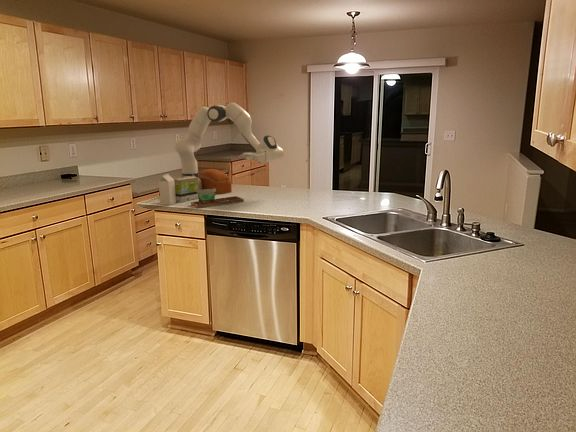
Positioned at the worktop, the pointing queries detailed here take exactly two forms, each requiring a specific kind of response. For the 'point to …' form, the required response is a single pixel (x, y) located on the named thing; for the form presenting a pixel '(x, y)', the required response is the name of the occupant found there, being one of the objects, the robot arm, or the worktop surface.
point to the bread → (215, 181)
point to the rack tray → (218, 202)
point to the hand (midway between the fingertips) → (242, 157)
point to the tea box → (186, 188)
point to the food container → (206, 196)
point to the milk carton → (167, 190)
